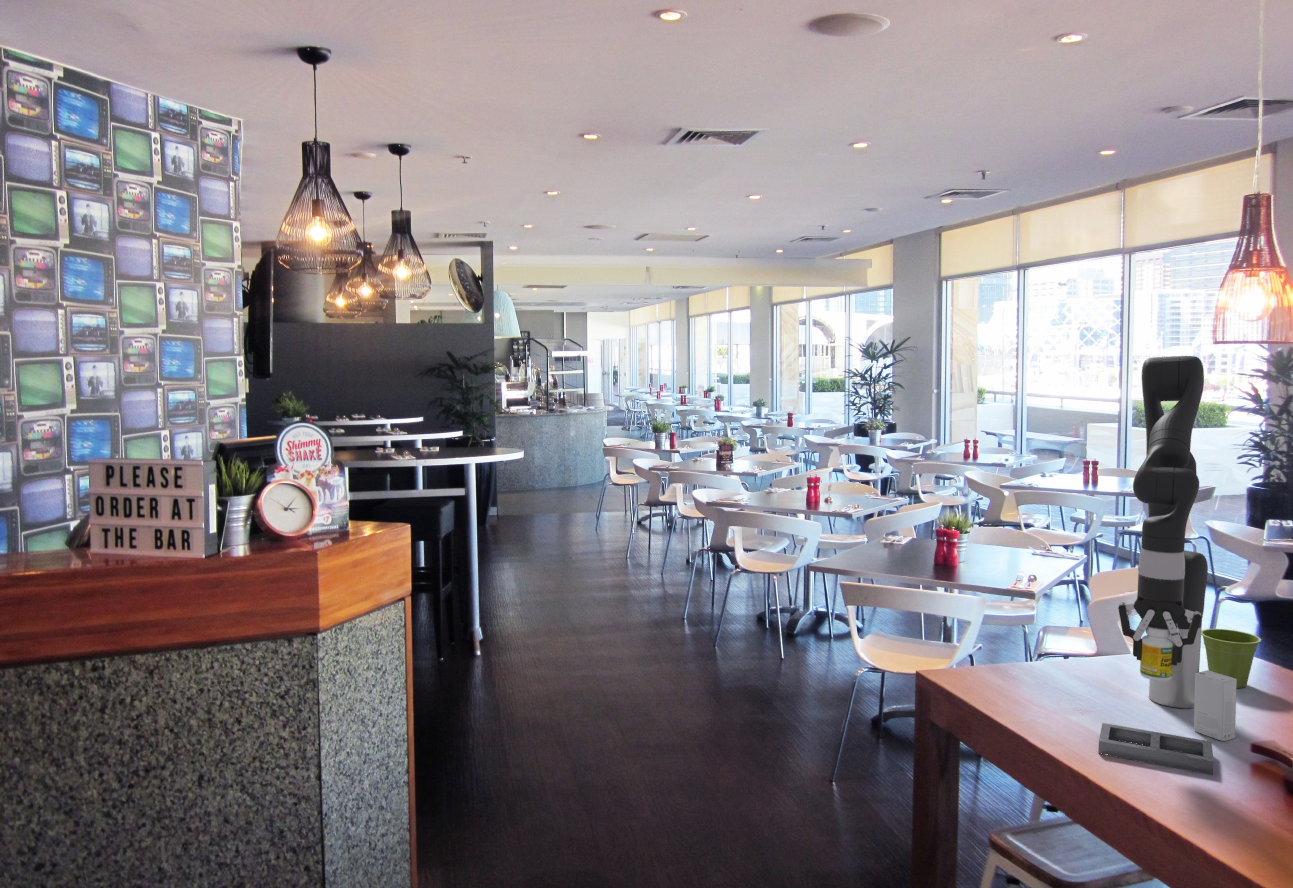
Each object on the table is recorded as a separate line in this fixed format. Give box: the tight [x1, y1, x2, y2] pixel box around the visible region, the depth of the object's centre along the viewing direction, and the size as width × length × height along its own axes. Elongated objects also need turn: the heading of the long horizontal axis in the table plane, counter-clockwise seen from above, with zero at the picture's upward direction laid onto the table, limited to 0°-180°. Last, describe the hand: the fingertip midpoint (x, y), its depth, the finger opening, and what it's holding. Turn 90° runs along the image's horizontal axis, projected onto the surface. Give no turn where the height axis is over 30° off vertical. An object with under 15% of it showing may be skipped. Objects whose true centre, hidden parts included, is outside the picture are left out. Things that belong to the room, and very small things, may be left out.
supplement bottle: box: [1139, 625, 1174, 681], centre depth 175 cm, size 5×5×10 cm
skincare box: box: [1193, 669, 1237, 742], centre depth 184 cm, size 6×4×12 cm
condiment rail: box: [1097, 722, 1214, 776], centre depth 175 cm, size 10×18×2 cm, turn 61°
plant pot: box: [1201, 628, 1262, 689], centre depth 213 cm, size 12×12×11 cm
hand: (1156, 661), depth 175 cm, fingers closed on supplement bottle, 5 cm apart
